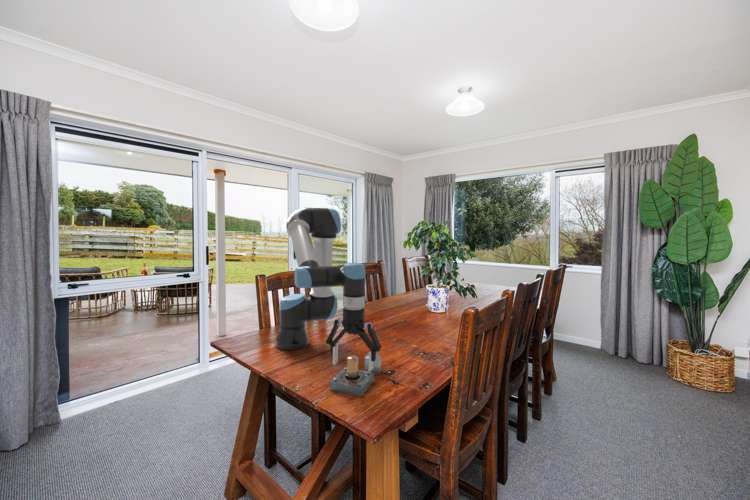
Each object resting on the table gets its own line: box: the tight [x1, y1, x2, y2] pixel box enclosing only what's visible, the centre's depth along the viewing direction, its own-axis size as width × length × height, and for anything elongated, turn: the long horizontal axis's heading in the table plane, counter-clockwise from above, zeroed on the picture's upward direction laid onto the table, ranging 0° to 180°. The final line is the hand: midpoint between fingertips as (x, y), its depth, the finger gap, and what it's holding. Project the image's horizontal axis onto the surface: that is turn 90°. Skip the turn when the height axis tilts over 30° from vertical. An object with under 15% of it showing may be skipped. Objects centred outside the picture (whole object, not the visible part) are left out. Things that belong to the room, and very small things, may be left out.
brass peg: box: [346, 354, 359, 380], centre depth 114 cm, size 4×4×10 cm
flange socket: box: [329, 366, 375, 397], centre depth 114 cm, size 12×12×4 cm
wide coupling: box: [363, 353, 382, 376], centre depth 125 cm, size 6×6×6 cm
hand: (352, 366), depth 114 cm, fingers open, 13 cm apart
